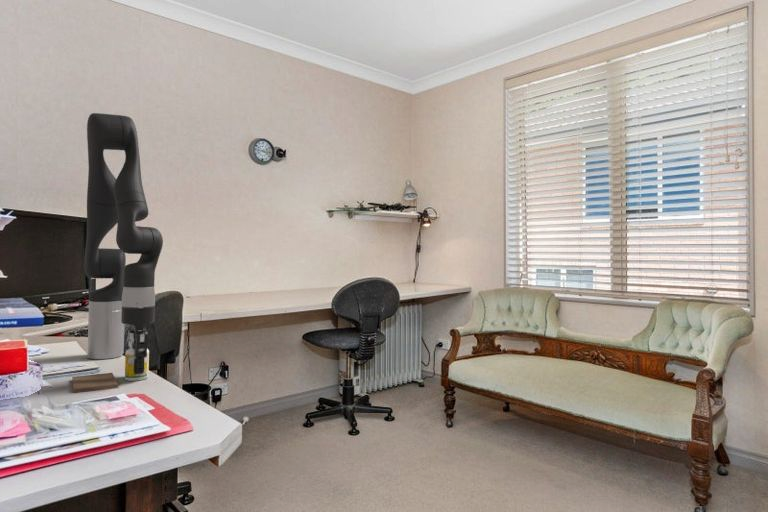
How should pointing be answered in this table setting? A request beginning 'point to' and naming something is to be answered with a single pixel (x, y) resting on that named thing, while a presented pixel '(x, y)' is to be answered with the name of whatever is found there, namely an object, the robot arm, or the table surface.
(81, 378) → the walnut mat
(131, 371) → the supplement bottle
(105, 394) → the table surface
